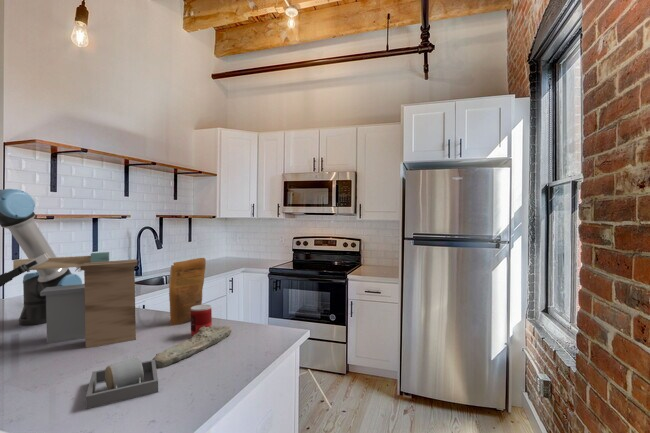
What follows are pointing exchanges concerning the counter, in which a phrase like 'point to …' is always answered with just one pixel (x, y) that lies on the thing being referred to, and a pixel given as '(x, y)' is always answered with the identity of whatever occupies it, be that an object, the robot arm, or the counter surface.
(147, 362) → the frame
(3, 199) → the robot arm
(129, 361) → the white cylinder
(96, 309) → the walnut pedestal
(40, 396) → the counter surface
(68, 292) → the tall grey box
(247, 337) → the counter surface
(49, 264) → the oak beam
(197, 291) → the pancake mix bag
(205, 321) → the canned food
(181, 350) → the long grey stone
